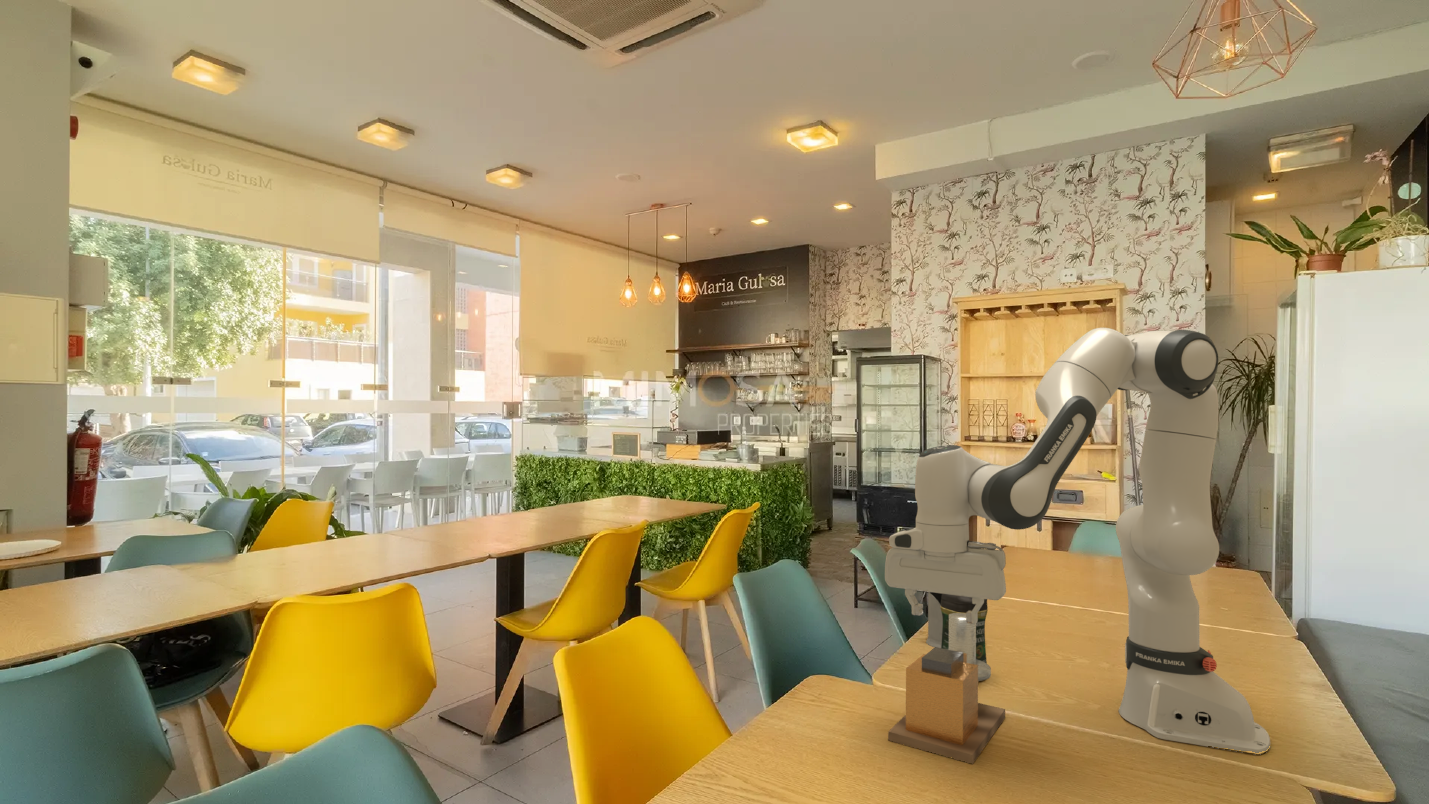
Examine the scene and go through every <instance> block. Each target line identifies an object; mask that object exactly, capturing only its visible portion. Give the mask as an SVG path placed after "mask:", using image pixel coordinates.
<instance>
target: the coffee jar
mask: <svg viewBox="0 0 1429 804" xmlns="http://www.w3.org/2000/svg"><path fill="white" fill-rule="evenodd" d="M975 605H976V604H973V603H972V597H965V596H958V595H950V594H942V597H941V606H940V607H941V612H942V617H943V628H942V643H941V648H943V649H948V650H949V614H952V613H965V614H966V612H968V611H972V610H973V609H974V607H975ZM988 610H989V608H988V599H984V603H983V605H982V606H981V608H980V610H979V611H978V612H977V613H978V621H977V623H976V659H977V660H980V661H983V662H985V663H987V664H988V662H987V661H988V660H987V651H986V650H987V649H986V628H985V627H986V618H987V615H988Z"/></svg>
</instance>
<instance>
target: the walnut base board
mask: <svg viewBox="0 0 1429 804" xmlns="http://www.w3.org/2000/svg"><path fill="white" fill-rule="evenodd" d="M1005 718H1006V708H1002V707H997V706H993V705H989V704H985V703H981V702H978V726H977V728H976V729H975V730H974V731H973V733H972V734H971V735H970V737H969V738H968V739H967V741H966V742H965V743H964V745H959V744H956V743H952V742H948V741H945V740H941V739H937V738H934V737H930V736H926V735H923V734H919V733H915V732H912V731H908V730H906V714H905V715H904V716H903V717H902V718H901V719H900V720H899V721H898V722H896V724H894V726H892V727H891V729H889V730H888V731H887V732H888V733H887V734H888V735H887V738H888V739H887V740H888V741H889V740H890V741H889V742H892V741H893V742H892V743H896V744H899V743H900V744H899V745H903V744H904V745H903V746H907V747H910V746H911V748H913V747H914V749H917V748H919V749H918V750H920V749H921V751H924V752H927V751H929V752H928V753H931V752H932V753H931V754H934V753H936V754H935V755H938V754H941V755H944V756H943V757H945V756H946V758H948V757H952V758H954V759H953V760H956V761H959V760H961V761H960V762H962V761H965V762H964V763H966V762H967V763H966V764H969V763H972V764H971V765H973V764H974V763H975V762H976V760H977V759H978V757H979V756H980V755H981V754H982V752H981V751H983V750H984V749H985V747H986V746H987V744H988V743H989V741H990V740H991V739H992V737H993V736H994V735H995V733H996V732H997V730H998V728H999V727H1000V725H1001V724H1002V723H1003V722H1004V720H1005ZM983 748H984V749H983ZM941 755H940V756H941ZM952 758H951V759H952ZM974 761H975V762H974Z"/></svg>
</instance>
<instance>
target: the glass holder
mask: <svg viewBox="0 0 1429 804" xmlns="http://www.w3.org/2000/svg"><path fill="white" fill-rule="evenodd" d="M927 596H928V599H927V600H928V602H927V605H928V607H927V609H928V611H927V612H928V613H927V622H928V625H927V626H928V627H927V628H928V629H927V639H926V640H925V641H926V642H925V643H926V644H927V645H929V646H930V647H932V648H934V647H937V648H941V643H942V628H943V617H942V612H941V607H940V606H941V597H942V593H935V592H928V595H927Z"/></svg>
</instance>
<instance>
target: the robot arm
mask: <svg viewBox="0 0 1429 804" xmlns="http://www.w3.org/2000/svg"><path fill="white" fill-rule="evenodd" d="M1218 366H1219V353H1218V350H1217V347H1216V345H1215V344H1214V342H1213V340H1212V339H1211V338H1210V337H1209V336H1208V335H1207V334H1204V333H1201V332H1199V331H1194V330H1191V329H1190V330H1188V329H1176V330H1148V331H1144V332H1140V333H1134V334H1130V335H1129V334H1124V333H1122V332H1120V331H1118V330H1115V329H1113V328H1109V327H1096V328H1093V329H1091V330H1088V331H1087V332H1086V333H1085V334H1083V335H1082V336H1081V337H1079V338H1078V339H1077V340H1076V341H1075V342H1073V344H1071V345H1070V346H1069V347H1068V348H1067V349H1066V350H1065V351H1064V352H1063V353H1062V354H1061V355H1060V356H1059V357H1058V358H1057V360H1055V362H1054V363H1053V364H1052V365H1051V366H1050V367H1049V369H1048V370H1047V371H1046V372H1045V373H1044V375H1043V377H1042V378H1041V379H1040V382H1039V384H1038V385H1037V387H1036V390H1035V393H1034V395H1035V401H1036V405H1037V408H1038V409H1039V411H1040V412H1041V413H1042V415H1043V416H1044V417H1045V418H1046V419H1047V421H1046V425H1045V427H1044V428H1043V430H1042V431H1041V433H1040V434H1039V436H1038V437H1037V438H1036V439H1035V441H1034V443H1033V444H1032V445H1031V447H1030V448H1029V450H1028V451H1027V453H1026V454H1024V457H1022V459H1020V460H1019V461H1017V462H1015V463H1013V464H1011V465H1010V464H1009V465H1000V464H996V463H995V464H994V463H991V462H989V461H986V460H984V459H981V458H980V457H979V458H978V457H977V456H975V455H973V454H971V453H969V452H968V451H966V450H965V449H964V447H962V446H960V445H956V444H949V445H948V444H947V445H938V446H935V447H930V448H926V449H925V450H923V451H922V452H921V453H920V454H919V455H918V457H917V461H916V466H915V467H916V468H915V475H914V479H915V480H914V486H915V487H914V493H915V494H914V495H915V501H916V503H917V505H916V506H917V512H916V516H915V527H911V528H907V529H905V530H900V531H899V532H895V533H893V534H891V535H890V536H889V538H888V542H889V543H888V544H889V546H890V547H891V548H890V549H889V550H888V551H887V553H886V556H885V557H886V558H885V563H884V581H885V583H886V584H887V585H888V587H890V588H898V589H904V596H905V597H906V598H907V600H908V602H909V604H910V605H911V615H912V616H920V617H921V616H922V615H923V614H924V610H923V609H924V604H923V603H919V601H918V599H917V598H916V595H915V594H917V591H919V592H920V591H921V592H935V593H942V594H950V595H958V596H965V597H972V603H973V604H976V605H975V607H974V609H973V610H972V611H968V612H966V617H967V619H966V622H967V623H971V624H976V623H977V621H978V613H977V612H978V611H979V610H980V608H981V606H982V605H983V603H984V599H987V600H989V601H998V600H1001V599H1002V598H1003V597H1004V596H1005V595H1006V592H1007V585H1006V577H1005V571H1004V569H1005V568H1006V564H1007V563H1006V560H1007V559H1006V557H1007V556H1006V553H1005V551H1004V549H1003V548H1002V547H1000V546H998V545H997V544H996V543H993V542H980V541H975V540H970V526H969V525H970V522H969V519H970V518H971V517H972V516H977V517H979V518H982V519H985V520H988V521H993V522H995V523H997V524H999V525H1001V526H1003V527H1005V528H1007V529H1011V530H1026V529H1030V528H1031V527H1033V526H1035V525H1037V524H1038V523H1039V522H1041V521H1042V519H1043V518H1044V517H1045V516H1046V514H1047V513H1048V511H1049V508H1050V506H1051V502H1052V499H1053V496H1054V493H1055V489H1056V488H1057V485H1058V484H1059V482H1060V479H1061V478H1062V477H1063V475H1064V474H1065V472H1066V471H1067V469H1068V468H1069V467H1070V465H1071V463H1072V462H1073V460H1074V459H1075V457H1076V456H1077V454H1078V453H1079V452H1080V450H1081V448H1082V446H1083V445H1084V444H1085V442H1086V441H1087V439H1088V437H1089V436H1090V434H1091V432H1092V431H1093V428H1094V427H1095V424H1096V422H1097V417H1098V415H1099V414H1100V412H1101V411H1102V409H1103V408H1105V405H1107V403H1108V402H1109V401H1110V399H1111V398H1112V397H1113V396H1114V395H1115V393H1116V392H1117V391H1118V390H1119V391H1133V392H1141V393H1142V392H1143V393H1147V395H1148V398H1149V402H1150V409H1149V412H1148V416H1147V421H1146V425H1145V430H1144V436H1143V443H1142V449H1141V455H1140V461H1139V467H1138V472H1139V477H1140V479H1141V480H1140V481H1141V487H1142V504H1138V505H1135V506H1131V507H1130V508H1127V509H1125V510H1124V511H1122V513H1121V514H1120V515H1119V517H1118V518H1117V520H1116V523H1115V531H1116V532H1115V534H1116V536H1117V539H1118V541H1119V548H1120V554H1121V561H1122V567H1123V572H1124V579H1125V583H1126V589H1127V598H1128V599H1127V600H1128V636H1127V637H1126V639H1125V641H1126V642H1125V643H1124V645H1125V646H1124V647H1125V649H1124V650H1125V653H1124V656H1125V660H1124V661H1125V666H1126V668H1127V671H1126V681H1125V686H1124V690H1123V691H1124V692H1123V695H1122V699H1121V701H1120V702H1121V703H1120V705H1119V708H1118V713H1119V715H1120V716H1121V717H1122V718H1123V719H1125V721H1127V722H1129V723H1130V724H1133V725H1134V726H1137V727H1139V728H1141V729H1142V730H1144V731H1146V732H1147V733H1149V734H1150V735H1152V736H1153V737H1155V738H1157V739H1159V740H1160V739H1161V740H1166V741H1172V742H1179V743H1184V744H1191V745H1197V746H1201V747H1208V746H1212V747H1211V748H1214V747H1218V748H1217V749H1219V748H1228V749H1234V750H1238V751H1239V750H1241V751H1252V752H1255V753H1259V752H1262V751H1266V750H1267V749H1268V748H1269V746H1270V745H1271V739H1270V735H1269V733H1268V732H1267V730H1266V728H1265V727H1263V726H1262V725H1260V724H1259V723H1257V722H1255V721H1254V720H1255V719H1254V715H1253V712H1252V709H1251V706H1250V704H1249V702H1248V700H1247V698H1246V697H1245V696H1244V695H1243V694H1242V693H1241V692H1240V691H1238V690H1237V689H1236V688H1235V687H1233V686H1232V685H1230V684H1229V683H1228V682H1227V681H1226V680H1225V679H1223V678H1222V677H1221V676H1219V675H1218V674H1217V673H1216V672H1215V670H1216V671H1217V665H1218V664H1217V662H1216V660H1215V659H1214V655H1213V654H1212V652H1211V651H1210V650H1209V649H1208V650H1206V649H1204V648H1203V647H1201V646H1200V643H1201V642H1200V604H1199V601H1198V598H1197V596H1196V595H1195V594H1196V593H1195V591H1194V589H1193V588H1194V587H1193V585H1192V582H1191V577H1190V576H1196V575H1200V574H1203V573H1205V572H1207V571H1208V570H1210V569H1212V567H1214V565H1215V563H1216V562H1217V561H1218V558H1219V555H1220V543H1219V541H1218V538H1217V536H1216V533H1215V531H1214V527H1213V516H1212V515H1213V514H1212V503H1211V501H1212V500H1211V475H1212V467H1213V462H1214V456H1215V455H1214V454H1215V450H1216V449H1215V448H1216V444H1217V443H1216V442H1217V440H1216V439H1217V436H1218V430H1219V428H1218V427H1219V414H1220V412H1219V395H1218V394H1219V393H1218V390H1217V388H1216V386H1215V385H1214V384H1213V383H1214V381H1215V378H1216V374H1217V373H1218V368H1219V367H1218ZM1270 747H1271V746H1270Z"/></svg>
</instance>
